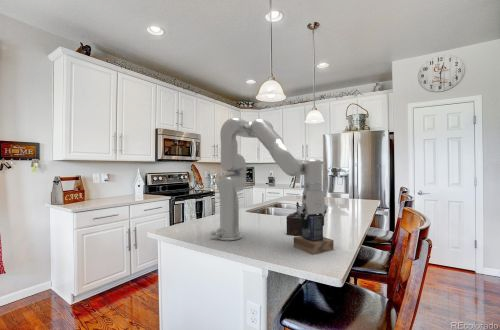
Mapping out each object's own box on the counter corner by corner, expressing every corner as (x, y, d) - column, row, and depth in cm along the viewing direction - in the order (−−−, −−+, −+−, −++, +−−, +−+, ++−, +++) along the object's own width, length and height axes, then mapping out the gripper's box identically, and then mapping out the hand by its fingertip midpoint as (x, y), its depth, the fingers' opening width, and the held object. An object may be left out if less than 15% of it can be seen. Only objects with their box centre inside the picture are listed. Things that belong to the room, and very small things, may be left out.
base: (313, 254, 102) (313, 244, 102) (293, 246, 112) (293, 237, 112) (333, 249, 108) (333, 240, 108) (313, 242, 118) (313, 233, 118)
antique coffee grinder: (285, 235, 131) (285, 200, 131) (289, 229, 141) (289, 197, 141) (316, 238, 125) (315, 201, 126) (318, 232, 136) (318, 199, 136)
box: (301, 237, 112) (301, 213, 112) (311, 235, 115) (311, 212, 115) (313, 242, 105) (312, 216, 105) (323, 240, 108) (323, 215, 108)
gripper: (304, 189, 103) (304, 231, 102) (333, 187, 111) (333, 226, 111) (291, 187, 109) (292, 227, 109) (320, 186, 118) (320, 222, 118)
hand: (313, 226), depth 110 cm, fingers open, 9 cm apart
